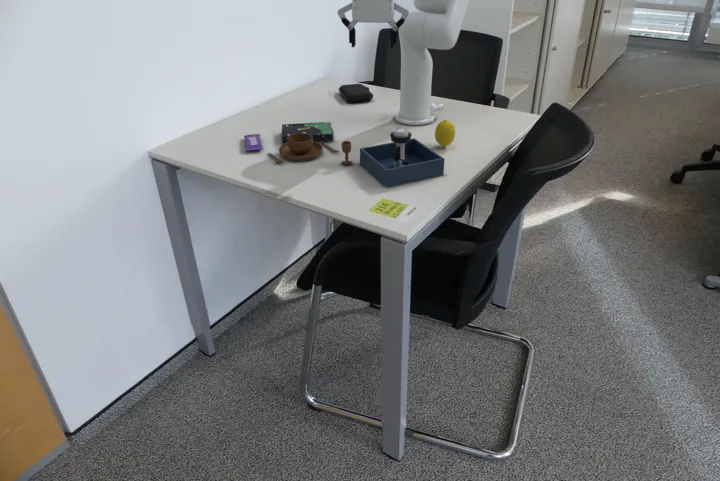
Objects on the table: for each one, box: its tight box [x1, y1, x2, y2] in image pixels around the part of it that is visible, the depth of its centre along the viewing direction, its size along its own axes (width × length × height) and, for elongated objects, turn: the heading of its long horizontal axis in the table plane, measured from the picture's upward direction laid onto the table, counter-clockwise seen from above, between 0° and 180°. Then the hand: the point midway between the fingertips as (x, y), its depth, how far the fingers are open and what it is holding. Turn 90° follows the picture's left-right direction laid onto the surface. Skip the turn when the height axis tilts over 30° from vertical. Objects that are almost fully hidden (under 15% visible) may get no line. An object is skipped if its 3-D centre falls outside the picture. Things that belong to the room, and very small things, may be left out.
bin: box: [359, 137, 445, 188], centre depth 138 cm, size 16×15×4 cm
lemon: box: [434, 119, 456, 148], centre depth 150 cm, size 6×6×8 cm
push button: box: [389, 127, 412, 168], centre depth 137 cm, size 7×5×10 cm
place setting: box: [268, 133, 353, 167], centre depth 145 cm, size 18×20×6 cm
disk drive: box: [281, 121, 334, 145], centre depth 159 cm, size 10×3×15 cm
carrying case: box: [338, 83, 374, 104], centre depth 191 cm, size 11×3×15 cm
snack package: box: [243, 133, 264, 152], centre depth 154 cm, size 12×2×5 cm
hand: (372, 46), depth 135 cm, fingers open, 9 cm apart
